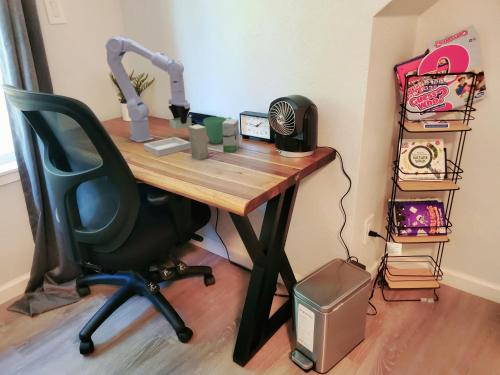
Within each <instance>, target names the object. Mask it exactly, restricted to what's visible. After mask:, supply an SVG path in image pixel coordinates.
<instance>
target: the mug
mask: <svg viewBox="0 0 500 375" xmlns="http://www.w3.org/2000/svg"><path fill="white" fill-rule="evenodd" d="M226 119H233V118H232V117H230V116H229V117H224V116H223V117H222V116H211V117H206V118H204V119H203V126H205V127H206V135H207V139H208V140H209V142H210V143H211V144H213V145H215V144H216V145H217V144H221V143H223V128H222V123H223V122H224V121H225V120H226Z"/></svg>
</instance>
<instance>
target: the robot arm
mask: <svg viewBox="0 0 500 375" xmlns="http://www.w3.org/2000/svg"><path fill="white" fill-rule="evenodd" d="M105 49H106V62H107V65H108V67H109V69H110V70H111V72H112V75H113V77H114V79H115V81H116V83H117V85H118V87H119V88H120V90H121V93H122V94H123V96H124V98H125V101H126V109H127V111H128V118H129V119H130V122H129V124H128V125H129V134H130V137H128V139H130V140H132V141H134V142H136V143H142V142H143V143H144V142H148V141H151V140H154V139H155V137H152V136H151V131H150V123H149V118H148V115H149V114H150V109H149V107H148V105H147V104H145V103H144V101H143V99H142V98H140V97H139V95H138V93H137V91H136V89H135V86H133V83H132V81H131V79H130V77H129V74H128V73H127V71H126V68H125V66H124V64H123V63H122V61H123V58H124V55H125V54H126V53H128V52H130V53H131V52H133V53H135V54H137V55H139V56H141V57H143V58H145V59H147V60H150V62H151V64H152V66H155V67H156V68H158V69H160V70H162V71H164V72H167V74H168V75H169V84H170V94H171V98H170V99H168V100H167V101H168V104H169V106H168V105H167V106H168V109H169V110H170V112H171V114H172V117H173V119H175V118H180V120H181V123H182V124H185V123H186V122H187V117H188V116H189V112H190V111H191V104H190V103H189V102H188V100H186V92H185V81H184V71H185V67H184V65H183V63H182V62H180V60H175V58H173V57H172V58H171V57H168V56H167V55H165V52H162V51H161V52H159V51H156V52H153V51H151V50H149V49H148V48H146V47H144V46H143V45H141V44H140V43H138V42H137V41H134V40H133V39H131V38H128V37H126V36H124V35H119V36H111V37H109V38H108V40H107V42H106V44H105Z"/></svg>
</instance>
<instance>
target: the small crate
mask: <svg viewBox="0 0 500 375" xmlns="http://www.w3.org/2000/svg"><path fill="white" fill-rule="evenodd" d="M192 124H193V123H192V117H188V116H187V122H186V123H185V124H182V123H181V120H180V118H175V119H174V118H171V119H169V127H170V128H171V129H173V130H180V129H184V128H189V126H193V125H192Z"/></svg>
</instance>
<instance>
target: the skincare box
mask: <svg viewBox="0 0 500 375" xmlns="http://www.w3.org/2000/svg"><path fill="white" fill-rule="evenodd" d="M188 132H189V142H190V143H191V148H190V149H191V150H190V151H191V156H192V157H193V158H195V159H197V160H199V161H200V160H204V159H206V158H209V148H208V146H209V145H208V135H207V132H206V127H205V125H201V124H194V125H192V126H189V127H188Z"/></svg>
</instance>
